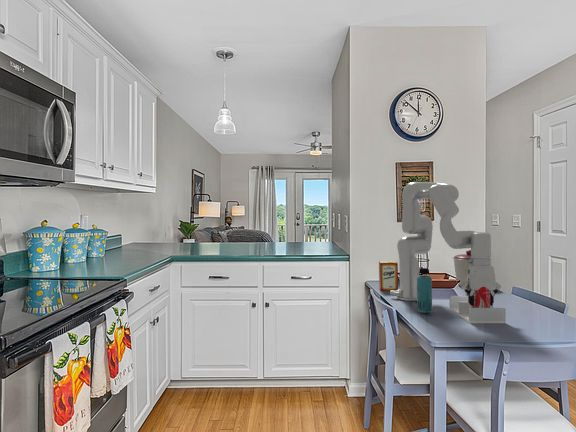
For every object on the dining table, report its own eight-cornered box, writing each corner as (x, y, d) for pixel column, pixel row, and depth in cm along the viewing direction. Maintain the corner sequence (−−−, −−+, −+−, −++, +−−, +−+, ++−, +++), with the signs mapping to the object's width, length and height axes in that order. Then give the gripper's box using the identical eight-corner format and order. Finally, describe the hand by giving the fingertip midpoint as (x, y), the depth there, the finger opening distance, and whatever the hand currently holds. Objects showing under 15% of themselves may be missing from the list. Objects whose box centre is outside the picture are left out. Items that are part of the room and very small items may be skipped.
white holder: (469, 323, 165) (469, 308, 165) (449, 309, 188) (449, 296, 188) (505, 323, 165) (505, 308, 164) (480, 309, 188) (480, 295, 187)
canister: (484, 290, 228) (484, 252, 227) (449, 287, 238) (449, 250, 237) (488, 285, 243) (488, 249, 242) (456, 282, 253) (455, 247, 252)
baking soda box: (380, 290, 231) (380, 262, 231) (379, 288, 238) (378, 260, 237) (397, 290, 230) (397, 262, 230) (396, 288, 237) (395, 260, 236)
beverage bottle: (432, 312, 183) (432, 267, 182) (432, 316, 176) (432, 269, 176) (417, 311, 185) (416, 266, 184) (416, 315, 179) (416, 269, 178)
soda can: (468, 310, 174) (468, 282, 174) (484, 310, 175) (484, 281, 174) (477, 315, 167) (477, 285, 167) (493, 314, 168) (493, 285, 167)
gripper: (462, 263, 167) (463, 307, 167) (506, 263, 166) (506, 307, 167) (456, 261, 175) (456, 303, 175) (497, 260, 174) (498, 302, 174)
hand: (480, 304), depth 171 cm, fingers closed on soda can, 7 cm apart
